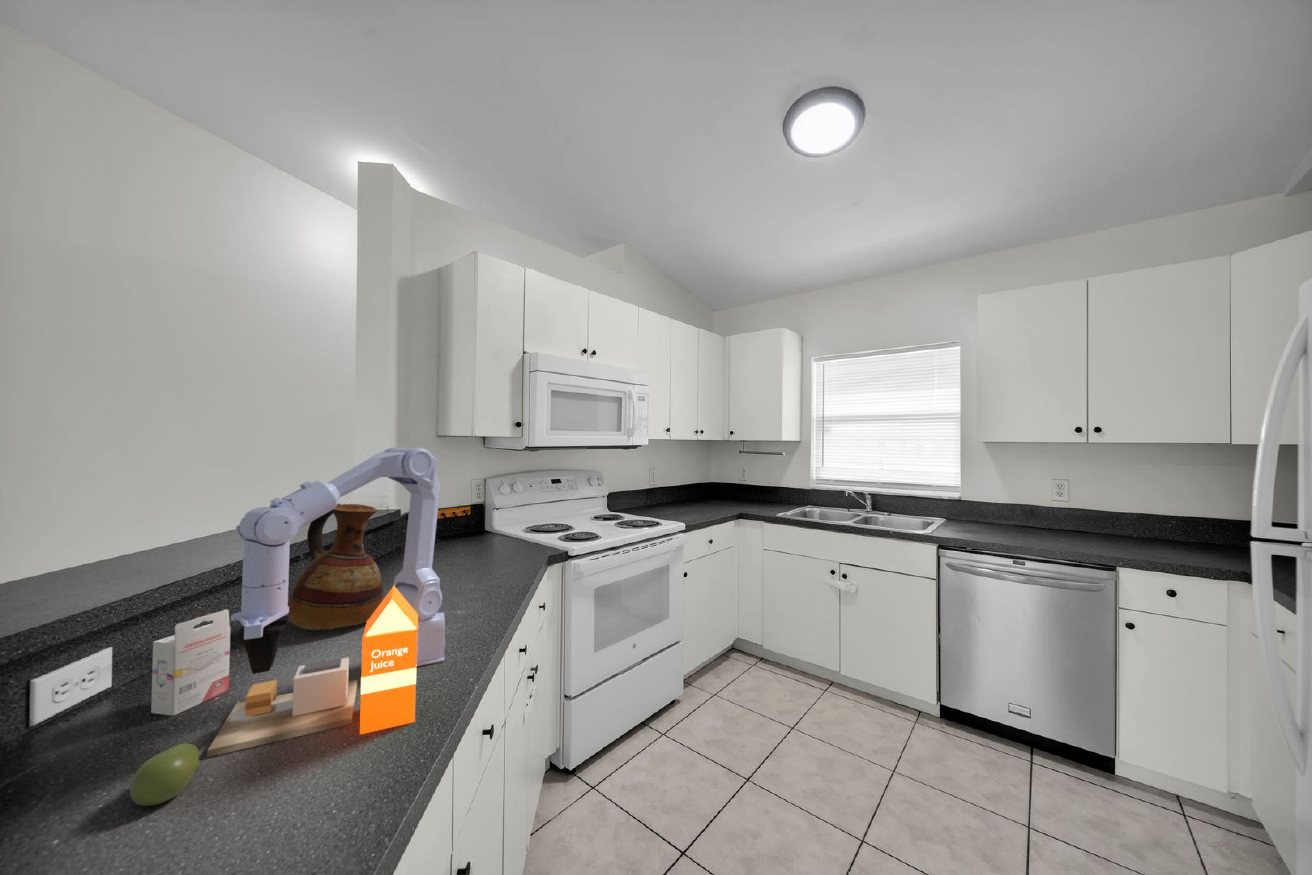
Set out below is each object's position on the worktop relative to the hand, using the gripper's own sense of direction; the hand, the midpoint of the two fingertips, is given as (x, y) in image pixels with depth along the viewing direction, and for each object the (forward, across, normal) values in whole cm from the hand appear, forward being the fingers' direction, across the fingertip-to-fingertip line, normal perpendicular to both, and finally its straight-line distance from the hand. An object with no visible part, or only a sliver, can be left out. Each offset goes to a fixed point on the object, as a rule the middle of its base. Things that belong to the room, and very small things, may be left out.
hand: (262, 669), depth 74 cm
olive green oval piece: (+9, +12, -7) cm, 17 cm away
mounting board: (+8, 0, +4) cm, 9 cm away
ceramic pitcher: (+9, -46, +6) cm, 47 cm away
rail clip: (+6, 0, 0) cm, 6 cm away
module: (+7, 0, +8) cm, 11 cm away
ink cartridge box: (+9, -14, -12) cm, 20 cm away
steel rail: (+8, 0, +4) cm, 9 cm away
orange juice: (+9, +7, +18) cm, 21 cm away
